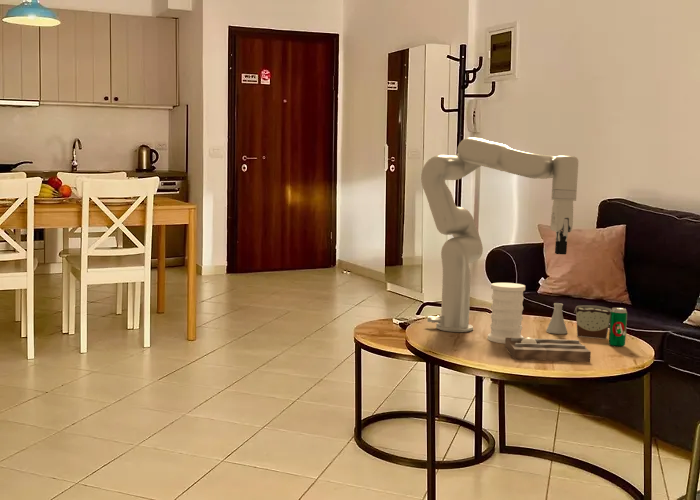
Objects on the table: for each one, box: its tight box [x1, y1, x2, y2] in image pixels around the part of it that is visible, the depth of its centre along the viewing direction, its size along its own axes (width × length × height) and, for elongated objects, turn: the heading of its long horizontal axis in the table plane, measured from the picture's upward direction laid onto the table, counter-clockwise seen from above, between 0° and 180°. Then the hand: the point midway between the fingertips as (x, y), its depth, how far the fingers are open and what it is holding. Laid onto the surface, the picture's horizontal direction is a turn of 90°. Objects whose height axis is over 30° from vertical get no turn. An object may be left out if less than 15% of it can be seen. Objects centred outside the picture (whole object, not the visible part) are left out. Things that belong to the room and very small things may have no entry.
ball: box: [521, 336, 537, 344], centre depth 242 cm, size 5×5×5 cm
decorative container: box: [487, 282, 526, 344], centre depth 260 cm, size 12×12×18 cm
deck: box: [504, 337, 592, 363], centre depth 242 cm, size 22×16×4 cm
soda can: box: [608, 307, 628, 348], centre depth 257 cm, size 5×5×12 cm
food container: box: [573, 304, 612, 340], centre depth 271 cm, size 12×6×10 cm, turn 71°
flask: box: [545, 302, 568, 335], centre depth 275 cm, size 7×7×10 cm
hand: (560, 253), depth 253 cm, fingers closed
